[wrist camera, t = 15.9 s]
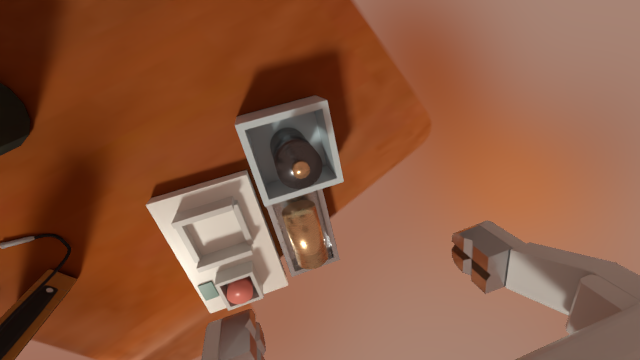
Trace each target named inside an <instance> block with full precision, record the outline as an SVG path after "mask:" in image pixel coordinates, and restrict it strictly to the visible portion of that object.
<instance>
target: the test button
mask: <svg viewBox="0 0 640 360" xmlns="http://www.w3.org/2000/svg"><path fill="white" fill-rule="evenodd" d="M252 296H253V281H252V279H251V277H250V276H248V277H245V278H242V279H239V280H236V281H234V282H231V283H228V288H227V299H228V300H229V301H230V302H231V303H234V304H243V303H246V302H247V301H249V300H250V299H251V298H252Z"/></svg>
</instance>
